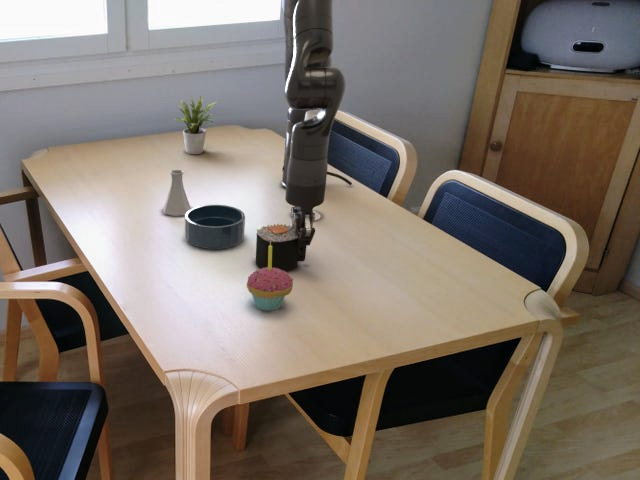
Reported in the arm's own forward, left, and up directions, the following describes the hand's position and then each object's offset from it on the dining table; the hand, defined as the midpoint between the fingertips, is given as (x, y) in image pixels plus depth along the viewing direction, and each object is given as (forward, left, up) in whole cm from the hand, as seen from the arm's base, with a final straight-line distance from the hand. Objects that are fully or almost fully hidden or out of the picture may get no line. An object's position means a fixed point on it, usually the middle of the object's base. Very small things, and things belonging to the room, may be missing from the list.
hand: (299, 259), depth 141 cm
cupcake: (+9, +17, -1) cm, 19 cm away
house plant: (+18, -78, -1) cm, 80 cm away
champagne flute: (-6, -26, -1) cm, 27 cm away
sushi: (+5, 0, -1) cm, 5 cm away
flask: (+25, -31, -1) cm, 40 cm away
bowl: (+17, -14, -1) cm, 22 cm away
